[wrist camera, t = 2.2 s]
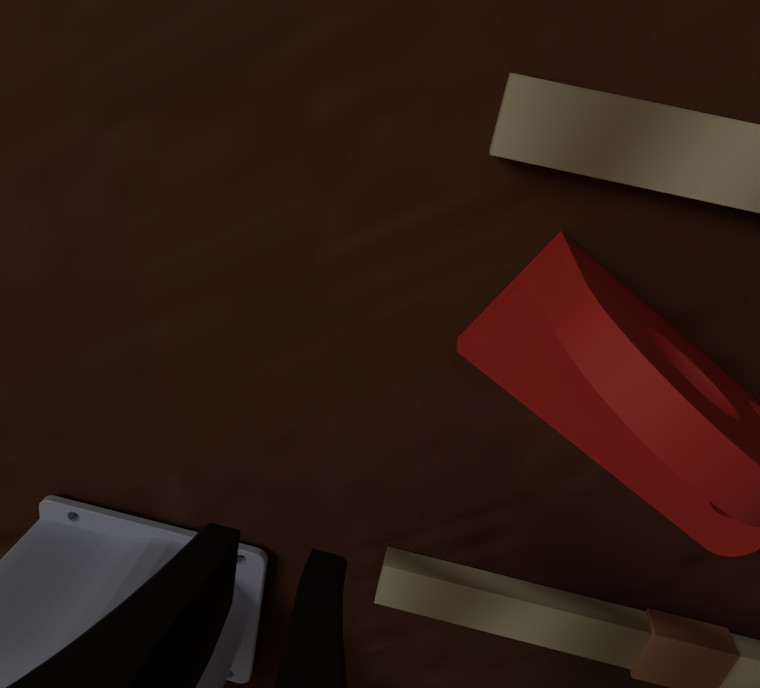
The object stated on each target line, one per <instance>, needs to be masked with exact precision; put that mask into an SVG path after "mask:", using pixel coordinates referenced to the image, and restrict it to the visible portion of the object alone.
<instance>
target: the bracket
mask: <svg viewBox="0 0 760 688" xmlns="http://www.w3.org/2000/svg"><path fill="white" fill-rule="evenodd" d="M457 352H458V353H459V354H461V355H462V356H463V357H464V358H466V359H467V360H468V361H469V362H471V363H472V364H473V365H475V366H476V367H477V368H478V369H480V370H481V371H482V372H483V373H485V374H486V375H487V376H488V377H490V378H491V379H492V380H493V381H495V382H496V383H497V384H498V385H500V386H501V387H502V388H504V389H505V390H506V391H507V392H509V393H510V394H511V395H512V396H514V397H515V398H516V399H517V400H519V401H520V402H521V403H522V404H524V405H525V406H526V407H528V408H529V409H530V410H531V411H533V412H534V413H535V414H536V415H538V416H539V417H540V418H541V419H543V420H544V421H545V422H546V423H548V424H549V425H550V426H552V427H553V428H554V429H555V430H557V431H558V432H559V433H560V434H562V435H563V436H564V437H565V438H567V439H568V440H569V441H570V442H572V443H573V444H574V445H576V446H577V447H578V448H579V449H581V450H582V451H583V452H584V453H586V454H587V455H588V456H589V457H591V458H592V459H593V460H594V461H596V462H597V463H598V464H599V465H601V466H602V467H603V468H605V469H606V470H607V471H608V472H610V473H611V474H612V475H613V476H615V477H616V478H617V479H618V480H620V481H621V482H622V483H623V484H625V485H626V486H627V487H629V488H630V489H631V490H632V491H634V492H635V493H636V494H637V495H639V496H640V497H641V498H642V499H644V500H645V501H646V502H647V503H649V504H650V505H651V506H653V507H654V508H655V509H656V510H658V511H659V512H660V513H661V514H663V515H664V516H665V517H666V518H668V519H669V520H670V521H671V522H673V523H674V524H675V525H677V526H678V527H679V528H680V529H682V530H683V531H684V532H685V533H687V534H688V535H689V536H690V537H692V538H693V539H694V540H695V541H697V542H698V543H699V544H700V545H702V546H703V547H704V548H706V549H707V550H708V551H710V552H712V553H714V554H717V555H721V556H727V557H737V556H743V555H747V554H750V553H752V552H755V551H757V550H758V549H760V402H759V401H758V400H757V399H756V398H755V397H753V396H752V395H751V394H750V393H749V392H748V391H746V390H745V389H744V388H743V387H742V386H741V385H739V384H738V383H737V382H736V381H735V380H734V379H733V378H731V377H730V376H729V375H728V374H727V373H726V372H724V371H723V370H722V369H721V368H720V367H719V366H717V365H716V364H715V363H714V362H713V361H712V360H710V359H709V358H708V357H707V356H706V355H705V354H704V353H702V352H701V351H700V350H699V349H698V348H697V347H695V346H694V345H693V344H692V343H691V342H690V341H688V340H687V339H686V338H685V337H684V336H683V335H681V334H680V333H679V332H678V331H677V330H676V329H675V328H673V327H672V326H671V325H670V324H669V323H668V322H666V321H665V320H664V319H663V318H662V317H661V316H659V315H658V314H657V313H656V312H655V311H654V310H652V309H651V308H650V307H649V306H648V305H647V304H646V303H644V302H643V301H642V300H641V299H640V298H639V297H637V296H636V295H635V294H634V293H633V292H632V291H630V290H629V289H628V288H627V287H626V286H625V285H623V284H622V283H621V282H620V281H619V280H618V279H617V278H615V277H614V276H613V275H612V274H611V273H610V272H608V271H607V270H606V269H605V268H604V267H603V266H601V265H600V264H599V263H598V262H597V261H596V260H594V259H593V258H592V257H591V256H590V255H589V254H588V253H586V252H585V251H584V250H583V249H582V248H581V247H579V246H578V245H577V244H576V243H575V242H574V241H572V240H571V239H570V238H569V237H568V236H567V235H565V234H564V233H563V232H562V231H561V232H560V233H559V234H558V235H557V236H556V237H555V238H554V239H553V240H552V241H551V242H550V243H549V244H548V245H547V246H546V247H545V248H544V249H543V250H542V251H541V252H540V253H539V254H538V255H537V256H536V257H535V258H534V259H533V260H532V261H531V263H530V264H529V265H528V266H527V267H526V268H525V269H524V270H523V271H522V272H521V273H520V274H519V275H518V276H517V277H516V278H515V279H514V280H513V281H512V282H511V283H510V284H509V285H508V286H507V287H506V288H505V289H504V290H503V291H502V292H501V294H500V295H499V296H498V297H497V298H496V299H495V300H494V301H493V302H492V303H491V304H490V305H489V306H488V307H487V308H486V309H485V310H484V311H483V312H482V313H481V314H480V315H479V316H478V317H477V318H476V319H475V320H474V321H473V322H472V323H471V325H470V326H469V327H468V328H467V329H466V330H465V331H464V332H463V333H462V334H461V335H460V336H459V337H458V341H457Z"/></svg>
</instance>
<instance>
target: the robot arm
mask: <svg viewBox="0 0 760 688" xmlns="http://www.w3.org/2000/svg"><path fill="white" fill-rule="evenodd" d="M39 512H40V519H39V520H38V521H37V522H36V523H35V524H34V525H33V527H32V528H31V529H30V530H29V531H28V532H27V533H26V534H25V535H24V536H23V537H22V538H21V539H20V540H19V541H18V542H17V543H16V544H15V545H14V546H13V547H12V548H11V549H10V551H9V552H8V553H7V554H6V555H5V556H4V557H3V558H2V559H1V560H0V688H223V686H224V684H225V681H226V680H228V681H232V682H236V683H246V682H248V681H249V679H250V676H251V674H252V668H253V661H254V654H255V647H256V640H257V633H258V626H259V619H260V612H261V605H262V598H263V591H264V584H265V577H266V570H267V563H268V556H267V554H266V553H265V552H264V551H263V550H262V549H260V548H257V547H253V546H249V545H246V544H242V543H239V539H240V530H237V529H233V528H229V527H225V526H221V525H217V524H213V523H209V524H207V525H205V526H204V527H203V528H202V529H201V530H200V531H199V532H195V531H191V530H187V529H183V528H179V527H175V526H171V525H167V524H163V523H160V522H156V521H152V520H148V519H144V518H140V517H136V516H132V515H128V514H124V513H121V512H117V511H113V510H109V509H105V508H101V507H97V506H93V505H89V504H85V503H81V502H78V501H74V500H70V499H66V498H62V497H58V496H52V495H50V496H47V497H46V498H45V499H44V500H43V501H42V502H41V503H40V505H39ZM76 513H77V514H76ZM240 555H242V556H245V558H244V557H241V556H240ZM347 563H348V562H347V561H346V560H345V558H344V557H343V556H339V555H335V554H331V553H327V552H323V551H319V550H315V549H312V551H311V553H310V556H309V558H308V561H307V563H306V566H305V568H304V571H303V573H302V576H301V578H300V582H299V586H298V591H297V595H296V599H295V604H294V608H293V612H292V616H291V621H290V625H289V629H288V633H287V638H286V642H285V646H284V651H283V655H282V659H281V663H280V668H279V672H278V676H277V680H276V684H275V687H274V688H347V683H346V673H345V660H344V644H343V588H344V579H345V572H346V567H347Z"/></svg>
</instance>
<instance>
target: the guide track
mask: <svg viewBox="0 0 760 688" xmlns="http://www.w3.org/2000/svg"><path fill="white" fill-rule="evenodd" d="M490 155H494V156H498V157H503V158H507V159H512V160H517V161H521V162H526V163H530V164H535V165H540V166H544V167H549V168H554V169H558V170H563V171H567V172H572V173H577V174H581V175H586V176H590V177H595V178H600V179H604V180H609V181H614V182H618V183H623V184H627V185H632V186H637V187H641V188H646V189H651V190H655V191H660V192H664V193H669V194H674V195H678V196H683V197H687V198H692V199H697V200H701V201H706V202H711V203H715V204H720V205H724V206H729V207H734V208H738V209H743V210H747V211H752V212H757V213H760V125H759V124H754V123H750V122H745V121H740V120H735V119H730V118H726V117H721V116H716V115H711V114H706V113H702V112H697V111H692V110H687V109H683V108H678V107H673V106H668V105H663V104H659V103H654V102H649V101H644V100H639V99H635V98H630V97H625V96H620V95H616V94H611V93H606V92H601V91H596V90H592V89H587V88H582V87H577V86H572V85H568V84H563V83H558V82H553V81H549V80H544V79H539V78H534V77H529V76H525V75H520V74H515V73H510V72H509V76H508V80H507V84H506V88H505V92H504V95H503V99H502V103H501V107H500V111H499V115H498V119H497V123H496V127H495V130H494V134H493V138H492V142H491V146H490ZM374 603H377V604H380V605H384V606H388V607H392V608H396V609H400V610H404V611H408V612H411V613H415V614H419V615H423V616H427V617H431V618H435V619H439V620H442V621H446V622H450V623H454V624H458V625H462V626H466V627H470V628H473V629H477V630H481V631H485V632H489V633H493V634H497V635H501V636H504V637H508V638H512V639H516V640H520V641H524V642H528V643H532V644H535V645H539V646H543V647H547V648H551V649H555V650H559V651H563V652H566V653H570V654H574V655H578V656H582V657H586V658H590V659H594V660H597V661H601V662H605V663H609V664H613V665H617V666H621V667H624V668H628V669H630V673H631V677H632V678H635V679H638V680H642V681H646V682H650V683H654V684H658V685H662V686H665V687H669V688H760V640H756V639H752V638H748V637H745V636H741V635H737V634H733V633H730V632H729V630H728V628H725V627H722V626H718V625H714V624H710V623H706V622H702V621H698V620H694V619H690V618H686V617H682V616H678V615H674V614H670V613H666V612H662V611H658V610H654V609H650V608H647V610H646V611H642V610H638V609H634V608H630V607H626V606H622V605H618V604H614V603H610V602H606V601H602V600H598V599H594V598H590V597H586V596H582V595H578V594H574V593H571V592H567V591H563V590H559V589H555V588H551V587H547V586H543V585H539V584H535V583H531V582H527V581H523V580H519V579H515V578H511V577H507V576H503V575H499V574H495V573H491V572H487V571H484V570H480V569H476V568H472V567H468V566H464V565H460V564H456V563H452V562H448V561H444V560H440V559H436V558H432V557H428V556H424V555H420V554H416V553H412V552H408V551H404V550H400V549H397V548H393V547H389V546H388V547H387V551H386V554H385V558H384V562H383V566H382V570H381V574H380V578H379V582H378V586H377V592H376V597H375V602H374Z"/></svg>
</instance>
